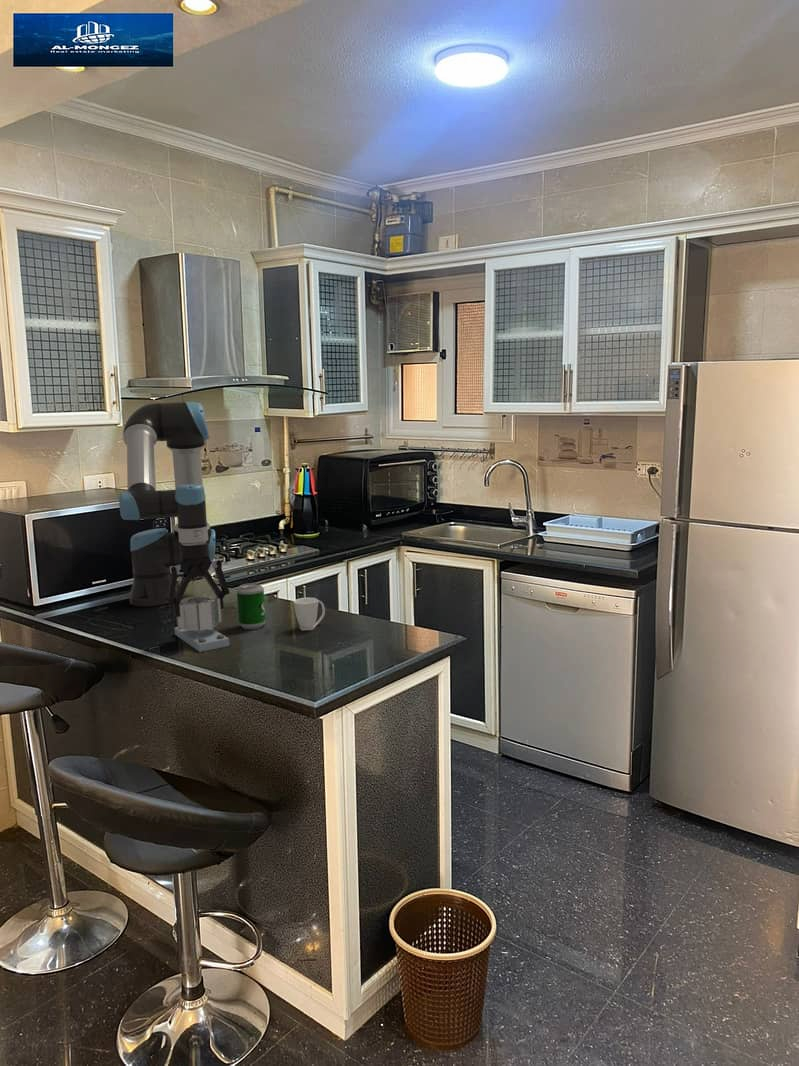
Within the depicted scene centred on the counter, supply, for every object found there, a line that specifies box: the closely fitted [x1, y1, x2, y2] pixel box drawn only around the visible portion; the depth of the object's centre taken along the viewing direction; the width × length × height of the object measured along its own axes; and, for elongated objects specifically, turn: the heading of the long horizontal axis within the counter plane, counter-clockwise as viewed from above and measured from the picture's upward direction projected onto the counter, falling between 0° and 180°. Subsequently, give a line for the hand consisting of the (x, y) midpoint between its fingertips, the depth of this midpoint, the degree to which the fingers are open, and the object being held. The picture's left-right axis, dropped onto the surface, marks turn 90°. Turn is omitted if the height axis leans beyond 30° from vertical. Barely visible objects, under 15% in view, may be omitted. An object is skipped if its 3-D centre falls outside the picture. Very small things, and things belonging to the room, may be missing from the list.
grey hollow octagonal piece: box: [180, 595, 220, 631], centre depth 212 cm, size 10×10×7 cm
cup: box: [292, 597, 326, 631], centre depth 221 cm, size 7×10×8 cm
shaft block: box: [174, 626, 230, 653], centre depth 212 cm, size 20×8×9 cm, turn 34°
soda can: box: [236, 582, 267, 630], centre depth 223 cm, size 8×8×12 cm
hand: (200, 624), depth 212 cm, fingers closed on grey hollow octagonal piece, 9 cm apart
